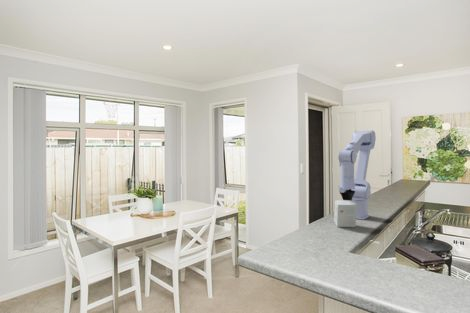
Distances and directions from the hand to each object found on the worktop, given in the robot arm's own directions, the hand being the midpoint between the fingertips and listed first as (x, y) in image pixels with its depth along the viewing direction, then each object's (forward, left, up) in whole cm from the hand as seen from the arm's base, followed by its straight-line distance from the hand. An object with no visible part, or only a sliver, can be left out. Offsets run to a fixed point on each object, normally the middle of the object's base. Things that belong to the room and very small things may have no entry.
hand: (347, 206), depth 130 cm
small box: (+4, 0, -8) cm, 8 cm away
